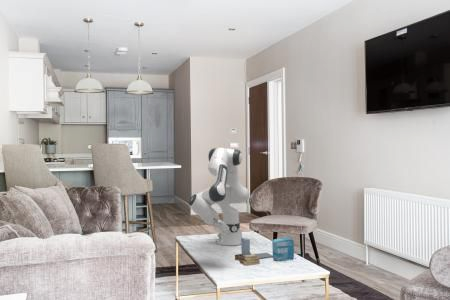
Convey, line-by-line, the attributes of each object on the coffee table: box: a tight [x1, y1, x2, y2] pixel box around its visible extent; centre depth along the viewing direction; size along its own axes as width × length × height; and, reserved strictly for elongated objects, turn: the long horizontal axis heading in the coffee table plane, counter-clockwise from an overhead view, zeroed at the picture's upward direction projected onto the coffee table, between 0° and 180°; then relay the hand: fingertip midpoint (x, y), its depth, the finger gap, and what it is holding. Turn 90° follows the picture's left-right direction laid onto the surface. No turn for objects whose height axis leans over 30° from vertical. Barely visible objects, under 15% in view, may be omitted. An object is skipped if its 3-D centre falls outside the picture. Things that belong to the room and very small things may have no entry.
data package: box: [271, 237, 295, 262], centre depth 267 cm, size 12×4×12 cm, turn 113°
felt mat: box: [251, 252, 273, 260], centre depth 276 cm, size 10×11×1 cm
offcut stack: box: [241, 255, 261, 266], centre depth 259 cm, size 5×9×4 cm, turn 111°
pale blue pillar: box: [240, 237, 251, 257], centre depth 266 cm, size 6×3×13 cm, turn 21°
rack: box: [234, 252, 257, 264], centre depth 266 cm, size 10×10×3 cm
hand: (227, 233), depth 263 cm, fingers open, 8 cm apart
